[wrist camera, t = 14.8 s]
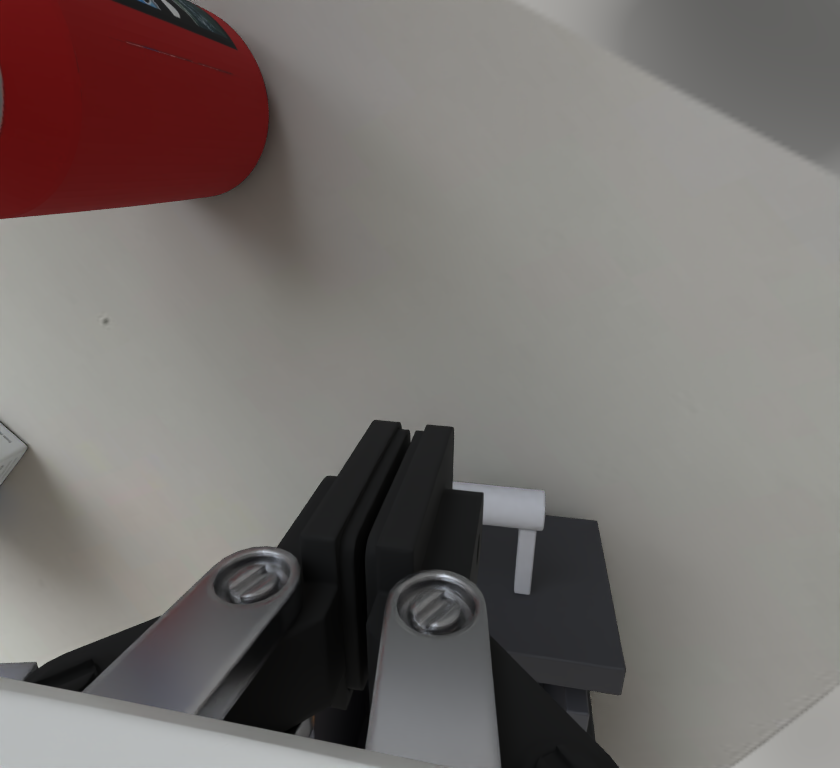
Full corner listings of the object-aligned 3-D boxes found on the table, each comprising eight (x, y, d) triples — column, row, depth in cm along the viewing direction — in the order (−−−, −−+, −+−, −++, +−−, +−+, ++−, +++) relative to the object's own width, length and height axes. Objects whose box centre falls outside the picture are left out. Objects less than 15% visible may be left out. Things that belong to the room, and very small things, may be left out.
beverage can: (238, -22, 20) (-124, -255, 9) (303, 169, 22) (77, 175, 11) (94, 45, 21) (-356, -77, 11) (166, 216, 24) (-146, 261, 13)
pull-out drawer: (324, 411, 25) (241, 513, 18) (610, 434, 23) (649, 561, 15) (345, 700, 32) (292, 856, 25) (564, 738, 30) (576, 922, 23)
